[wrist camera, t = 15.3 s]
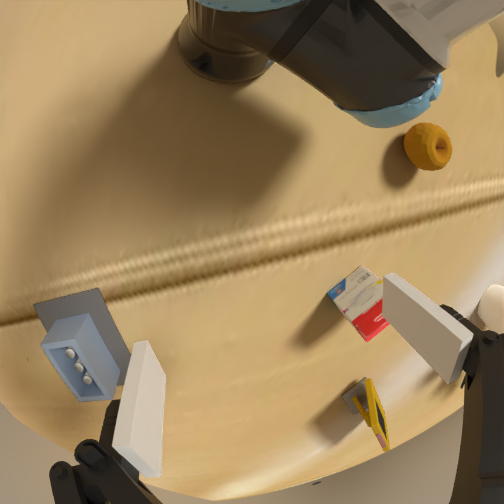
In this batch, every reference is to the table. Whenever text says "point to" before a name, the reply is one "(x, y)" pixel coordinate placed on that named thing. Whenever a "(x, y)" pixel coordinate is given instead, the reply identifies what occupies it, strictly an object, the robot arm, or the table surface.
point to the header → (102, 320)
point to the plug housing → (82, 358)
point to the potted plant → (493, 308)
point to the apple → (428, 146)
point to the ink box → (361, 302)
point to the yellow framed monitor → (365, 398)
